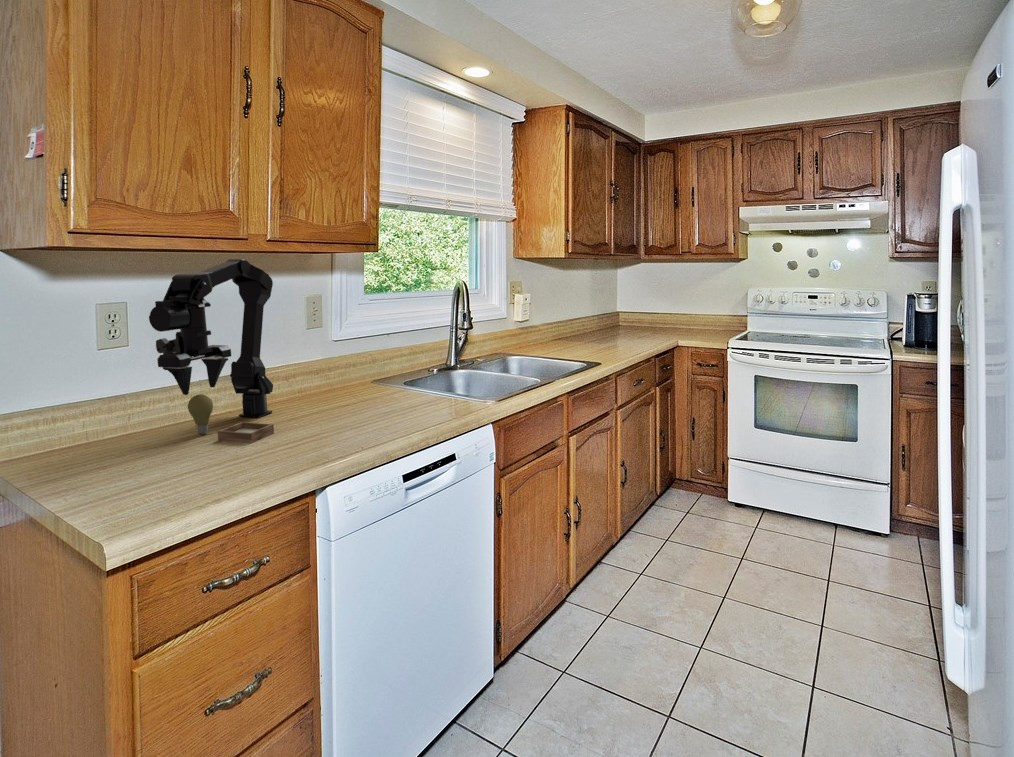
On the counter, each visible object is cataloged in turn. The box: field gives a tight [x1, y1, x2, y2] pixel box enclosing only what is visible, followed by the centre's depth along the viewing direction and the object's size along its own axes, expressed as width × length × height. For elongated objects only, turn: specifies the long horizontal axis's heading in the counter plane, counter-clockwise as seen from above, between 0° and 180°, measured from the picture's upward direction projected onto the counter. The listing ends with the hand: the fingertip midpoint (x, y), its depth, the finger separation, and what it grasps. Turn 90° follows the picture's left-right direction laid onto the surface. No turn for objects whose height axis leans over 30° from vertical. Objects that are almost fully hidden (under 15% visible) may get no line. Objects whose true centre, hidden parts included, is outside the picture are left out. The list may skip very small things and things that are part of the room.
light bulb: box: [187, 394, 214, 436], centre depth 156 cm, size 6×6×10 cm
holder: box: [217, 421, 275, 444], centre depth 154 cm, size 9×9×2 cm
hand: (199, 390), depth 155 cm, fingers open, 9 cm apart
